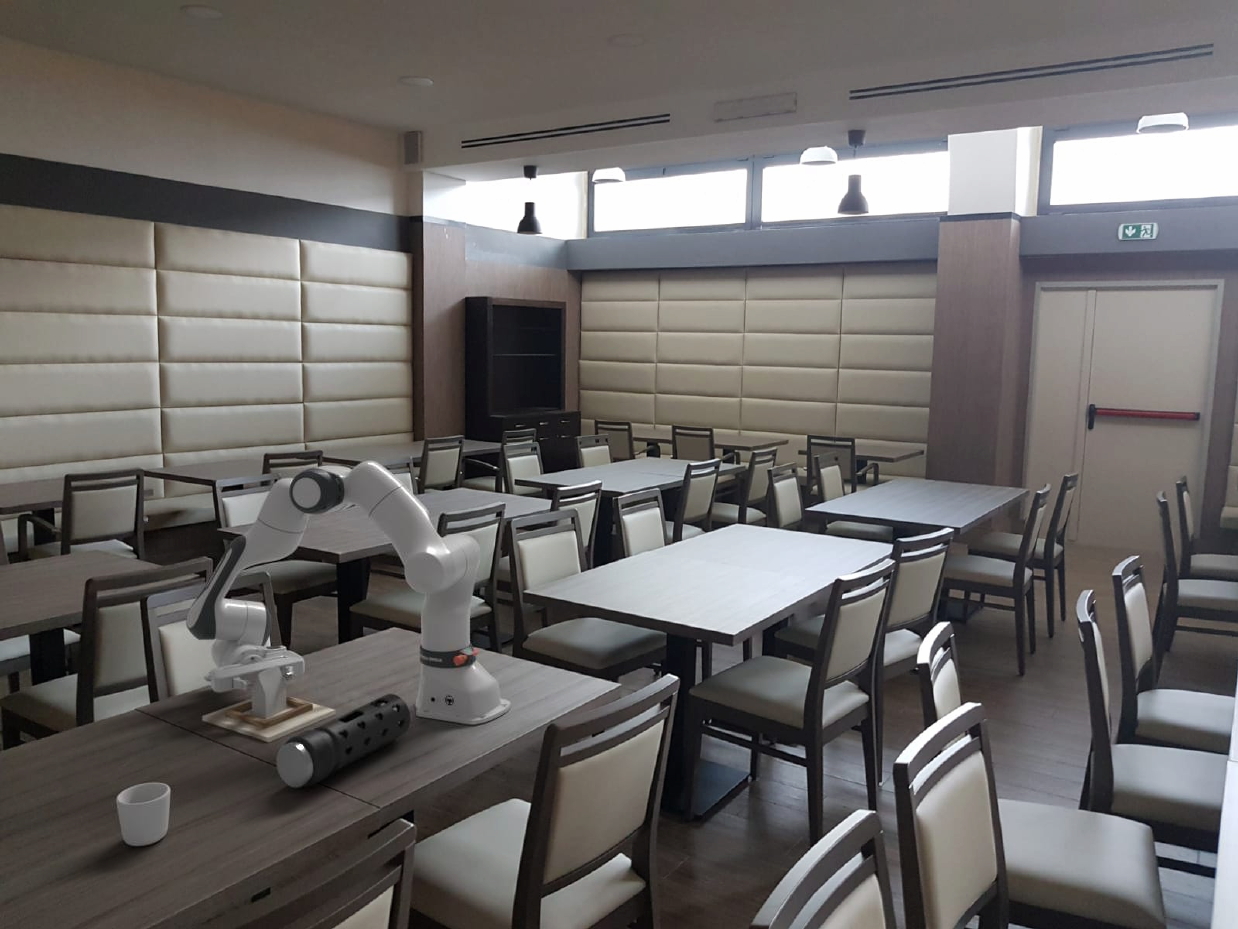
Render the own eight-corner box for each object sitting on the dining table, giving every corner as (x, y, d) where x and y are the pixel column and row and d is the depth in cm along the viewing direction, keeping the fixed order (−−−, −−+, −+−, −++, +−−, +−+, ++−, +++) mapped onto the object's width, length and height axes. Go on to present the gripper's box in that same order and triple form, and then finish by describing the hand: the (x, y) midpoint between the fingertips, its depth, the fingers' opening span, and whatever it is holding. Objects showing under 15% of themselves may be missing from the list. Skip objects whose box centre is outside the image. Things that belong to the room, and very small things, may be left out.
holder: (335, 714, 205) (335, 704, 205) (268, 742, 190) (268, 731, 189) (270, 695, 216) (270, 686, 216) (202, 720, 201) (202, 710, 201)
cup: (138, 819, 158) (136, 775, 157) (186, 817, 158) (184, 773, 157) (109, 852, 147) (107, 805, 146) (160, 850, 148) (158, 804, 147)
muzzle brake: (412, 744, 190) (411, 696, 189) (311, 801, 165) (309, 746, 164) (377, 735, 194) (376, 688, 193) (273, 789, 169) (271, 736, 168)
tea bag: (286, 708, 206) (285, 665, 204) (266, 719, 199) (264, 675, 198) (272, 706, 207) (271, 664, 206) (252, 717, 200) (250, 673, 199)
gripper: (200, 662, 205) (220, 678, 194) (290, 644, 218) (313, 658, 208) (201, 689, 205) (221, 707, 195) (291, 669, 219) (314, 685, 208)
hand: (270, 681), depth 201 cm, fingers open, 8 cm apart
